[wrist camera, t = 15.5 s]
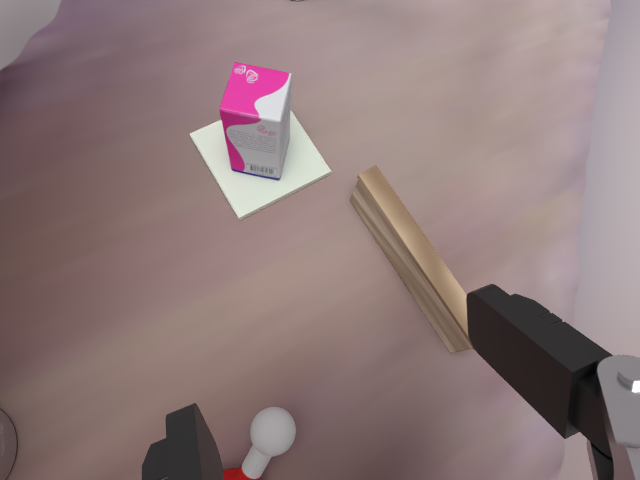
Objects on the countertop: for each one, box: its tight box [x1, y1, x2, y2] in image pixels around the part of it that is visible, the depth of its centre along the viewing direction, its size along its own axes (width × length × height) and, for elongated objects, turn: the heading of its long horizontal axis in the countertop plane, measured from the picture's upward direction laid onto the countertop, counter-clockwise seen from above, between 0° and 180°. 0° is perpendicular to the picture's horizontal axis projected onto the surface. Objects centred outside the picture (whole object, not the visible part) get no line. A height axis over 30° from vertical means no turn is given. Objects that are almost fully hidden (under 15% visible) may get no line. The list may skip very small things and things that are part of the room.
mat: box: [190, 110, 331, 221], centre depth 52 cm, size 12×12×1 cm
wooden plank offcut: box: [350, 165, 474, 353], centre depth 46 cm, size 2×20×7 cm, turn 31°
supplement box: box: [219, 62, 292, 180], centre depth 46 cm, size 6×6×12 cm
